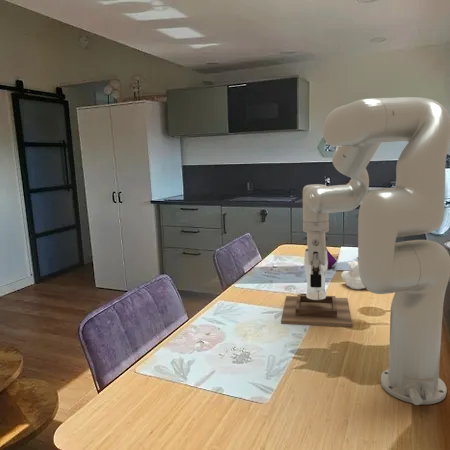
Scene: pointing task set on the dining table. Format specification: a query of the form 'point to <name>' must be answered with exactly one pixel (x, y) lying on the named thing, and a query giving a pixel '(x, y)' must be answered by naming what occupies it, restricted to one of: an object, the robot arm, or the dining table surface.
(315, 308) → the walnut stand
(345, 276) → the bust
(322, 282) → the white piece
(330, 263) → the perfume bottle
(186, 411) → the dining table surface
